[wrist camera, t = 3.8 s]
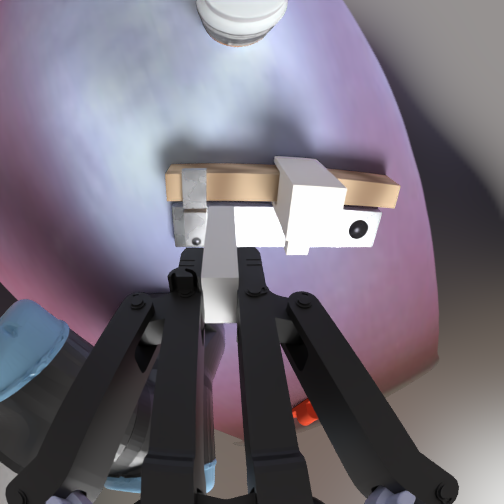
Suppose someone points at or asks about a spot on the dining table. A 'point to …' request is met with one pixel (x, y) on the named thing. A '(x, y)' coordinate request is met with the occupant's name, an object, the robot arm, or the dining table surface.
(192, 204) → the fixed leg
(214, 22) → the pill bottle
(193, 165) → the beam
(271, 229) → the hole plate
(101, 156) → the dining table surface
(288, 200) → the block
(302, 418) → the bracket
